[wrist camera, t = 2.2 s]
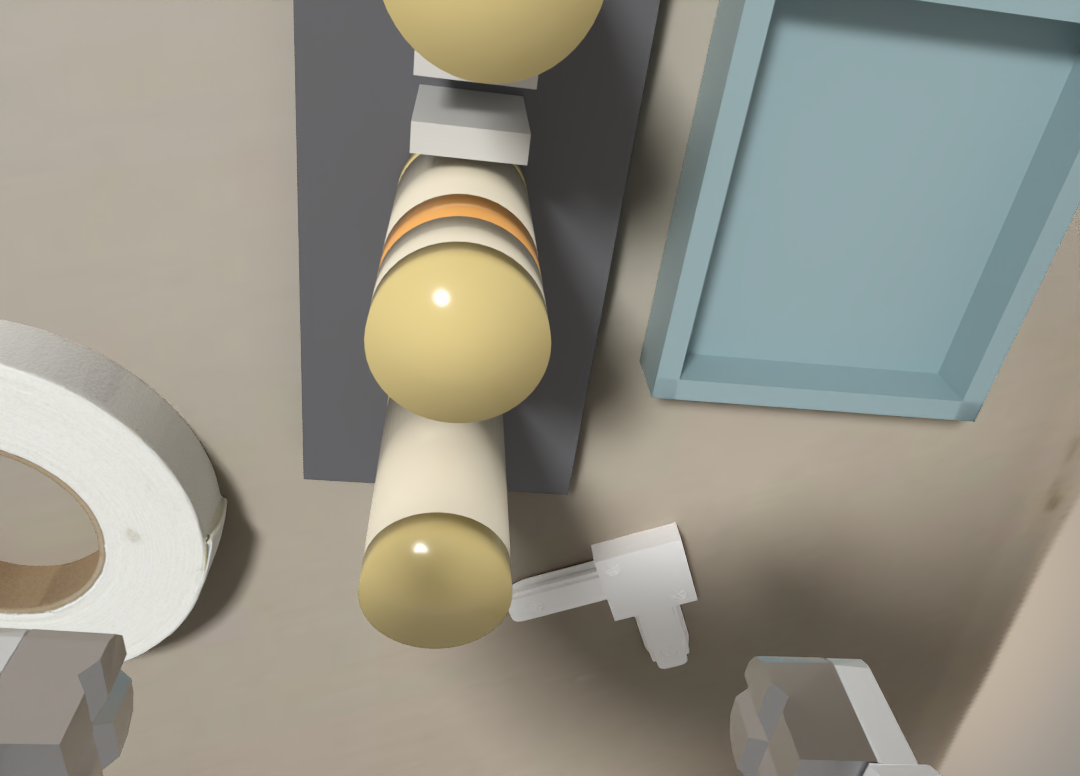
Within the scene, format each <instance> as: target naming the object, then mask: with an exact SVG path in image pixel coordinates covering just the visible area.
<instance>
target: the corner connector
mask: <svg viewBox="0 0 1080 776" xmlns="http://www.w3.org/2000/svg"><path fill="white" fill-rule="evenodd" d="M591 548H592V554H593V560H594V561H590V562H586V563H583V564H579V565H575V566H571V567H567V568H564V569H560V570H556V571H552V572H548V573H545V574H541V575H537V576H533V577H529V578H526V579H523V580H521V581H519V582H517V583H515V584H513V585H512V602H511V606H510V608H509V614H510V616H511V618H512V619H513V620H514V621H516V622H521V621H526V620H530V619H534V618H537V617H541V616H545V615H549V614H553V613H557V612H561V611H564V610H568V609H572V608H576V607H580V606H584V605H588V604H591V603H595V602H599V601H603V600H607V601H608V603H609V606H610V609H611V612H612V615H613V617H614V620H615V621H618V620H622V619H626V618H630V617H634V616H635V619H636V622H637V625H638V628H639V631H640V634H641V637H642V640H643V643H644V646H645V648H646V649H647V650H648V652H649V653H650V655H651V658H652V661H653V662H657V665H658V666H659V668H661V669H667V668H672V667H676V666H679V665H683V664H685V663H686V662H687V655H686V654H688V653H689V652H690V651H689V647H688V643H689V634H688V631H687V627H686V624H685V621H684V617H683V614H682V610H681V607H680V605H681V604H685V603H689V602H693V601H697V600H698V599H697V595H696V592H695V588H694V585H693V581H692V577H691V574H690V570H689V566H688V563H687V559H686V555H685V552H684V548H683V544H682V541H681V537H680V534H679V531H678V528H677V524H676V523H672V524H668V525H665V526H661V527H657V528H653V529H649V530H646V531H642V532H638V533H634V534H631V535H627V536H623V537H619V538H616V539H612V540H608V541H604V542H600V543H597V544H593V545H591Z"/></svg>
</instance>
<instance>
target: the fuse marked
mask: <svg viewBox="0 0 1080 776" xmlns="http://www.w3.org/2000/svg"><path fill="white" fill-rule="evenodd" d="M364 346H365V354H366V359H367V362H368V365H369V368H370V370H371V372H372V374H373V376H374V378H375V380H376V381H377V383H378V384H379V385H380V387H381V388H382V389H383V390H384V392H385V393H386V394H387V395H388V396H389V397H390V398H392V399H393V400H394V401H395V402H396V403H398V404H399V405H400V406H402V407H404V408H405V409H407V410H408V411H411V412H413V413H415V414H417V415H419V416H422V417H425V418H427V419H431V420H435V421H439V422H447V423H471V422H478V421H483V420H487V419H490V418H493V417H496V416H499V415H501V414H503V413H505V412H507V411H509V410H511V409H512V408H514V407H516V406H517V405H518V404H520V403H521V402H522V401H523V400H525V399H526V398H527V397H528V396H529V395H530V394H531V393H532V392H533V390H534V389H535V388H536V386H537V385H538V384H539V382H540V381H541V379H542V377H543V375H544V373H545V371H546V368H547V366H548V362H549V358H550V353H551V332H550V326H549V320H548V314H547V308H546V302H545V296H544V290H543V284H542V277H541V271H540V265H539V259H538V253H537V247H536V241H535V235H534V229H533V222H532V216H531V210H530V204H529V198H528V192H527V186H526V181H525V177H524V175H523V172H522V170H521V168H520V166H519V165H518V164H509V163H499V162H490V161H481V160H471V159H462V158H453V157H443V156H434V155H425V154H416V153H412V154H411V155H410V157H409V158H408V159H407V161H406V163H405V164H404V166H403V169H402V171H401V174H400V178H399V182H398V186H397V190H396V195H395V199H394V204H393V208H392V212H391V217H390V221H389V226H388V230H387V234H386V239H385V243H384V248H383V252H382V256H381V261H380V265H379V270H378V274H377V279H376V283H375V287H374V292H373V296H372V301H371V305H370V309H369V314H368V318H367V323H366V327H365V335H364Z"/></svg>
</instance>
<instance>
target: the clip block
mask: <svg viewBox="0 0 1080 776" xmlns="http://www.w3.org/2000/svg"><path fill="white" fill-rule="evenodd" d="M659 4H660V0H603V3H602V6H601V9H600V11H599V13H598V15H597V17H596V19H595V21H594V24H593V25H592V27H591V28H590V30H589V31H588V33H587V34H586V36H585V37H584V39H583V40H582V41H581V42H580V43H579V45H578V46H577V47H576V48H575V49H574V50H573V51H572V52H571V53H570V54H569V55H568V56H567V57H566V58H565V59H563V60H562V61H560V62H559V63H558V64H556V65H555V66H554V67H552V68H550V69H548V70H547V71H545V72H543V73H541V74H539V75H536V76H534V77H531V78H528V79H526V80H521V81H517V82H513V83H503V84H486V83H478V82H473V81H468V80H465V79H462V78H459V77H456V76H453V75H451V74H449V73H447V72H445V71H443V70H441V69H439V68H438V67H436V66H434V65H433V64H431V63H430V62H428V61H427V60H426V59H425V58H424V57H422V56H421V55H420V54H419V53H418V52H416V51H415V50H414V48H413V47H412V46H411V45H410V44H409V43H408V42H407V41H406V40H405V38H404V37H403V36H402V34H401V33H400V32H399V30H398V29H397V27H396V26H395V24H394V22H393V20H392V19H391V17H390V15H389V13H388V11H387V9H386V6H385V4H384V2H383V0H294V46H295V93H296V139H297V186H298V232H299V279H300V326H301V372H302V419H303V466H304V479H312V480H329V481H346V482H363V483H375V480H376V473H377V467H378V460H379V454H380V448H381V441H382V435H383V428H384V422H385V415H386V409H387V403H388V395H387V394H386V393H385V392H384V390H383V389H382V388H381V387H380V385H379V384H378V383H377V381H376V380H375V378H374V376H373V374H372V372H371V370H370V368H369V365H368V362H367V359H366V354H365V346H364V335H365V327H366V323H367V318H368V314H369V309H370V305H371V301H372V296H373V292H374V287H375V283H376V279H377V274H378V270H379V265H380V261H381V256H382V252H383V248H384V243H385V239H386V234H387V230H388V226H389V221H390V217H391V212H392V208H393V204H394V199H395V195H396V190H397V186H398V182H399V178H400V174H401V171H402V169H403V166H404V164H405V163H406V161H407V159H408V158H409V157H410V155H411V154H412V153H416V154H425V155H434V156H443V157H453V158H462V159H471V160H481V161H490V162H499V163H509V164H518V165H519V166H520V168H521V170H522V172H523V175H524V177H525V181H526V186H527V192H528V198H529V204H530V210H531V216H532V222H533V229H534V235H535V241H536V247H537V253H538V259H539V265H540V271H541V277H542V284H543V290H544V296H545V302H546V308H547V314H548V320H549V326H550V332H551V353H550V358H549V362H548V366H547V368H546V371H545V373H544V375H543V377H542V379H541V381H540V382H539V384H538V385H537V386H536V388H535V389H534V390H533V392H532V393H531V394H530V395H529V396H528V397H527V398H526V399H525V400H523V401H522V402H521V403H520V404H518V405H517V406H516V407H514V408H512V409H511V410H509V411H507V412H505V413H503V426H504V445H505V463H506V482H507V491H516V492H533V493H550V494H567V495H568V490H569V485H570V480H571V474H572V469H573V464H574V458H575V453H576V448H577V442H578V437H579V432H580V426H581V421H582V416H583V410H584V405H585V400H586V394H587V389H588V384H589V378H590V373H591V368H592V362H593V357H594V352H595V346H596V341H597V336H598V330H599V325H600V320H601V314H602V309H603V304H604V298H605V293H606V287H607V282H608V277H609V271H610V266H611V261H612V255H613V250H614V245H615V239H616V234H617V229H618V223H619V218H620V213H621V207H622V202H623V197H624V191H625V186H626V181H627V175H628V170H629V165H630V159H631V154H632V149H633V143H634V138H635V133H636V127H637V122H638V117H639V111H640V106H641V101H642V95H643V90H644V85H645V79H646V74H647V68H648V63H649V58H650V52H651V47H652V42H653V36H654V31H655V26H656V20H657V15H658V10H659Z"/></svg>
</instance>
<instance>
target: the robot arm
mask: <svg viewBox="0 0 1080 776" xmlns="http://www.w3.org/2000/svg"><path fill="white" fill-rule="evenodd" d="M126 655H127V652H126V648H125V644H124V639H123V636H122V635H118V634H108V633H91V632H75V631H59V630H42V629H17V628H0V776H103V773H102V770H103V769H104V768H106V767H107V766H108V765H109V764H111V763H112V762H113V761H114V760H115V759H117V758H118V757H119V756H120V754H121V751H122V748H123V746H124V743H125V740H126V738H127V735H128V731H129V726H130V721H131V717H132V712H133V687H132V680H131V678H130V677H129V676H127V675H126V674H125V673H124V672H123V671H122V670H120V669H121V667H122V664H123V662H124V660H125V657H126ZM744 676H745V679H746V682H747V685H748V688H747V689H746V690H744V691H743V692H742V693H740V694H739V695H737V696H736V697H735V701H734V704H733V707H732V710H731V713H730V733H729V734H730V741H731V748H732V753H733V757H734V760H735V764H736V767H737V769H738V770H739V771H740V772H741V773H742V774H743V775H744V776H942V775H941V774H940V773H939V772H937V771H936V770H935V769H934V768H933V767H931V766H930V765H925V764H918V762H917V760H916V758H915V756H914V754H913V752H912V750H911V748H910V746H909V744H908V742H907V740H906V738H905V736H904V734H903V732H902V731H901V729H900V727H899V725H898V723H897V721H896V719H895V717H894V715H893V713H892V711H891V709H890V707H889V705H888V703H887V701H886V699H885V697H884V695H883V693H882V691H881V689H880V687H879V685H878V683H877V681H876V679H875V677H874V676H873V674H872V672H871V670H870V668H869V666H868V665H867V664H866V663H865V662H864V661H863V660H862V659H839V658H825V659H823V658H821V657H781V656H755V657H754V658H752V659H751V660H750V661H749V663H748V665H747V668H746V671H745V673H744Z"/></svg>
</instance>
